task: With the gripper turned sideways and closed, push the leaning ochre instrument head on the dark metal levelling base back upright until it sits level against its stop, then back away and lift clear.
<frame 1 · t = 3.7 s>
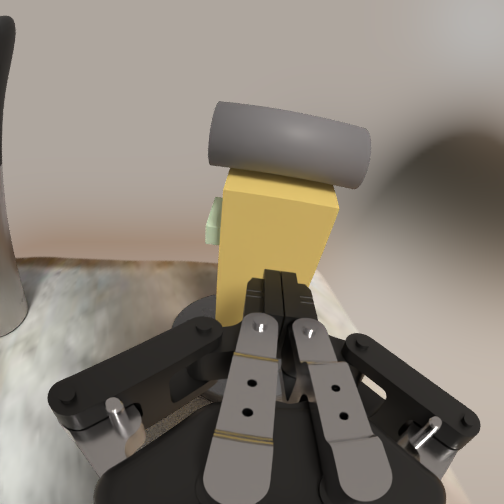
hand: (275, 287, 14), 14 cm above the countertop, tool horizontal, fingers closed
instrument head: (265, 255, 21), point 12 cm above the countertop, hinge at -18.0°
levelling base: (244, 349, 29), on the countertop
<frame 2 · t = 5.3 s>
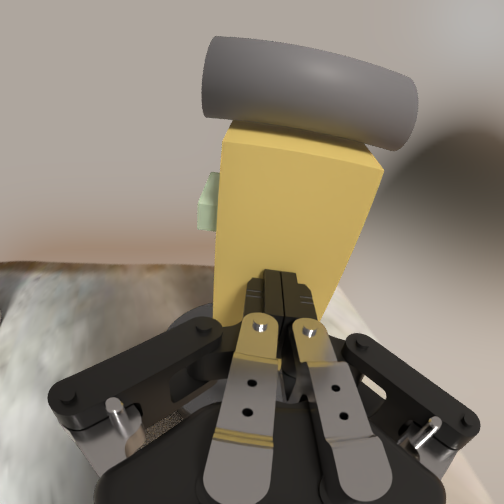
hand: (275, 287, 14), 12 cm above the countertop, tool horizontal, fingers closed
instrument head: (276, 248, 16), point 13 cm above the countertop, hinge at -15.9°, touching gripper
levelling base: (249, 368, 24), on the countertop
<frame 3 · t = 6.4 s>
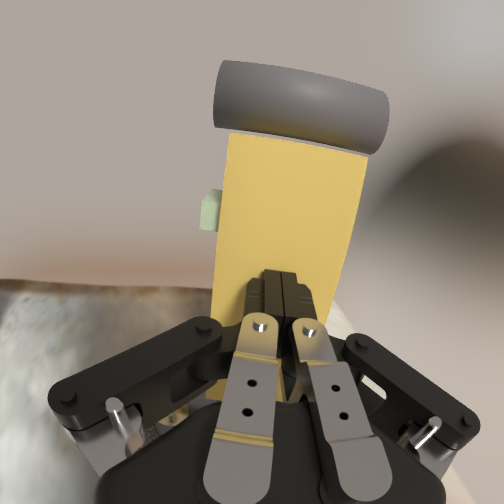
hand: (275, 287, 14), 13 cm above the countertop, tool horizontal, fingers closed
instrument head: (274, 261, 16), point 13 cm above the countertop, hinge at 1.2°, touching gripper
levelling base: (245, 404, 21), on the countertop
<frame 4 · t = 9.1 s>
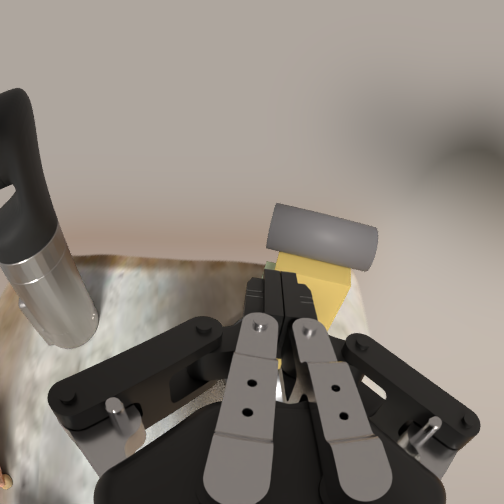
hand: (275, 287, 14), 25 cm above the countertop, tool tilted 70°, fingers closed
instrument head: (298, 305, 28), point 13 cm above the countertop, hinge at 1.2°
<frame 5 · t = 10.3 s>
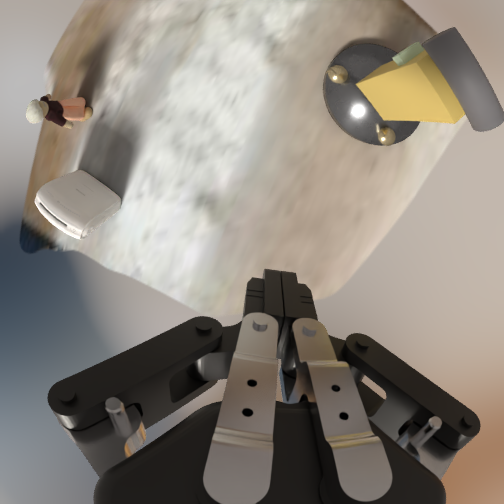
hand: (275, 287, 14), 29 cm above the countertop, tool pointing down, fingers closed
photo printer: (98, 191, 42), on the countertop
instrument head: (417, 85, 22), point 13 cm above the countertop, hinge at 1.2°
levelling base: (373, 94, 34), on the countertop
grandmother figurine: (81, 108, 36), on the countertop
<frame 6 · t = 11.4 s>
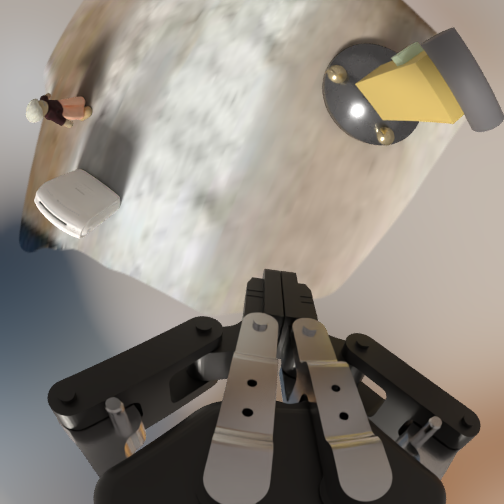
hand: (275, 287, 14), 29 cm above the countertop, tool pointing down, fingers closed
photo printer: (97, 190, 42), on the countertop
instrument head: (416, 85, 22), point 13 cm above the countertop, hinge at 1.2°
levelling base: (372, 94, 34), on the countertop
grandmother figurine: (80, 107, 36), on the countertop
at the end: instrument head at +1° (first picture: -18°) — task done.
